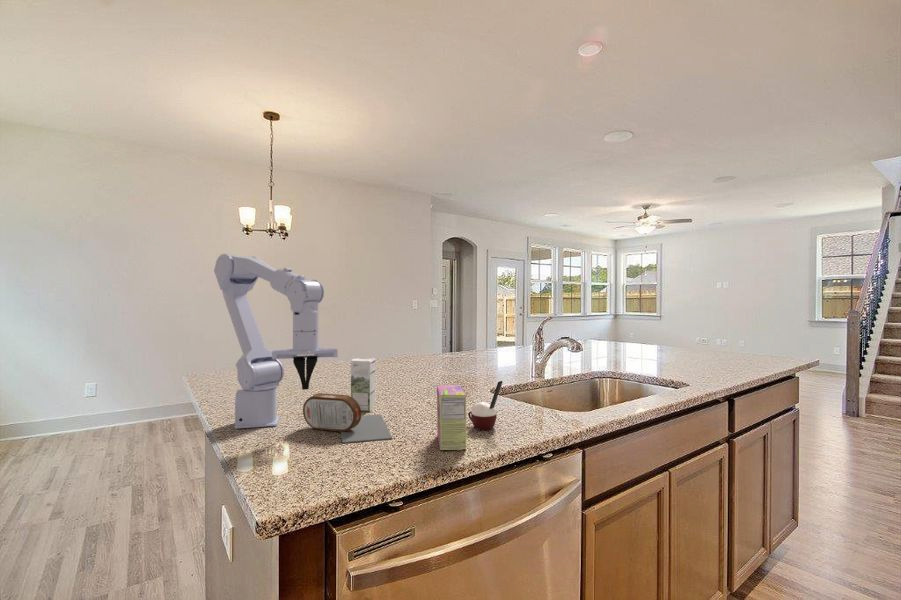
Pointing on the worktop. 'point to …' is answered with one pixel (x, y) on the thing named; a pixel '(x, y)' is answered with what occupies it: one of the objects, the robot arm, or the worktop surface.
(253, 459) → the worktop surface
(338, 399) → the tin
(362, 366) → the syrup box
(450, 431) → the box
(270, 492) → the worktop surface
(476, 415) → the cocoa
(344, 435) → the mat
